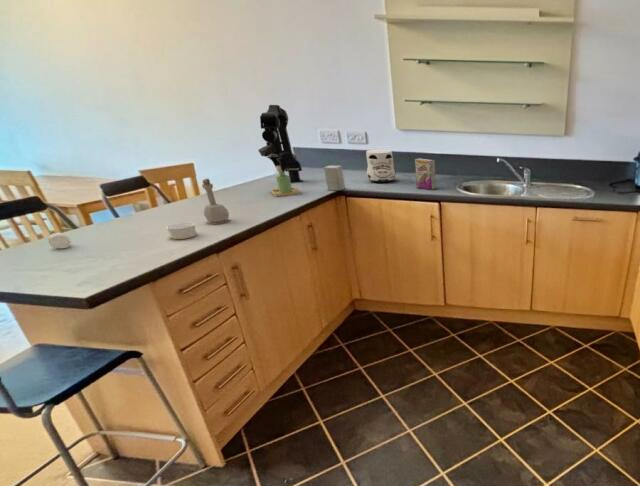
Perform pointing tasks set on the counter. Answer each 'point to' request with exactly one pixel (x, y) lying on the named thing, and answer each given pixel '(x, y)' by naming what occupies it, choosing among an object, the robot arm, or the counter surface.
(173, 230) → the ramekin
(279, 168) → the cap
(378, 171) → the cream face block
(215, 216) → the potion bottle
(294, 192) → the tray
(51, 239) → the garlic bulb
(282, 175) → the bottle
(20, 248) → the counter surface
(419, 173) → the candy bar box
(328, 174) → the white packaging box
